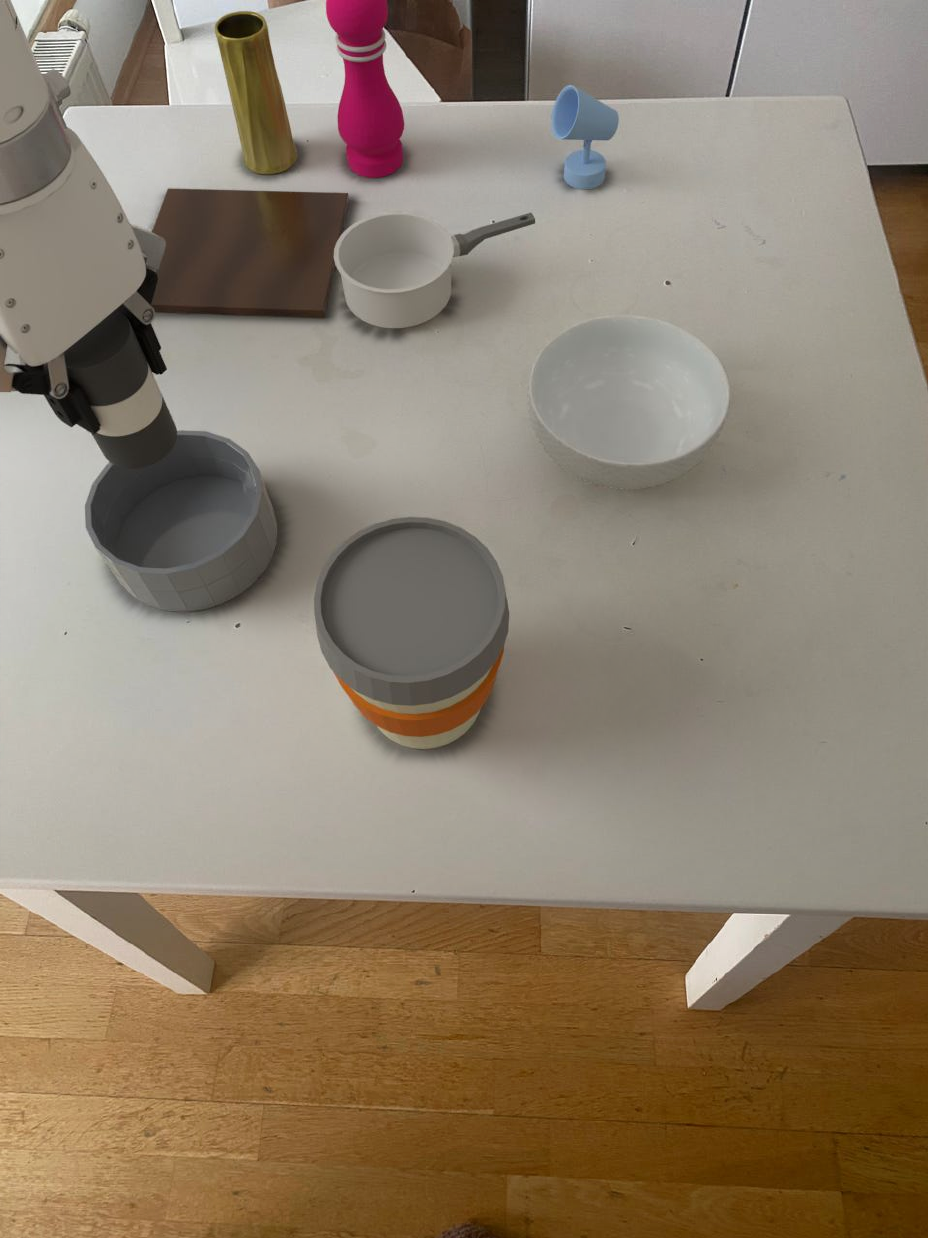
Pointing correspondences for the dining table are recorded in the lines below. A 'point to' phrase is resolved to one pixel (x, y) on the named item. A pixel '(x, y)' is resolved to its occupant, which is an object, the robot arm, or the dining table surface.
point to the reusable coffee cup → (413, 627)
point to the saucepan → (404, 265)
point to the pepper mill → (366, 88)
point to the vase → (255, 92)
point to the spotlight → (583, 134)
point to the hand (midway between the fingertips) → (115, 391)
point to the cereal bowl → (627, 400)
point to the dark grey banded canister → (121, 394)
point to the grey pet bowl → (184, 524)
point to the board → (248, 251)
